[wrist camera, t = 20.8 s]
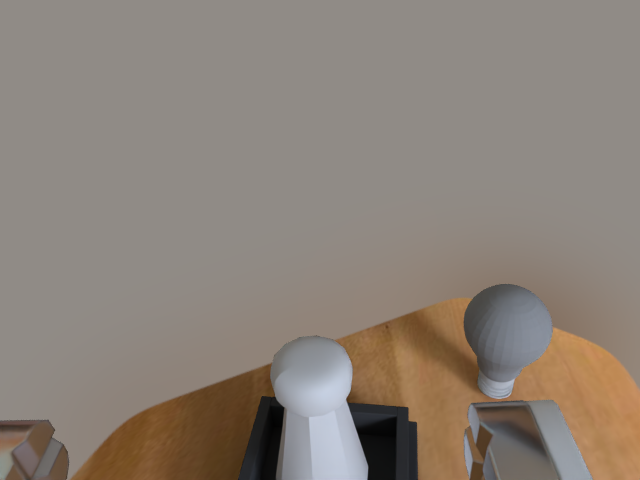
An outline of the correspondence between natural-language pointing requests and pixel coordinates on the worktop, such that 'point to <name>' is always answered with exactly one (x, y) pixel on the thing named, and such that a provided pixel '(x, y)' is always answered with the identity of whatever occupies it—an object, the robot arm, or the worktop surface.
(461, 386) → the worktop surface
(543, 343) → the light bulb
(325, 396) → the salt shaker
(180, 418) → the worktop surface
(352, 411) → the pad
